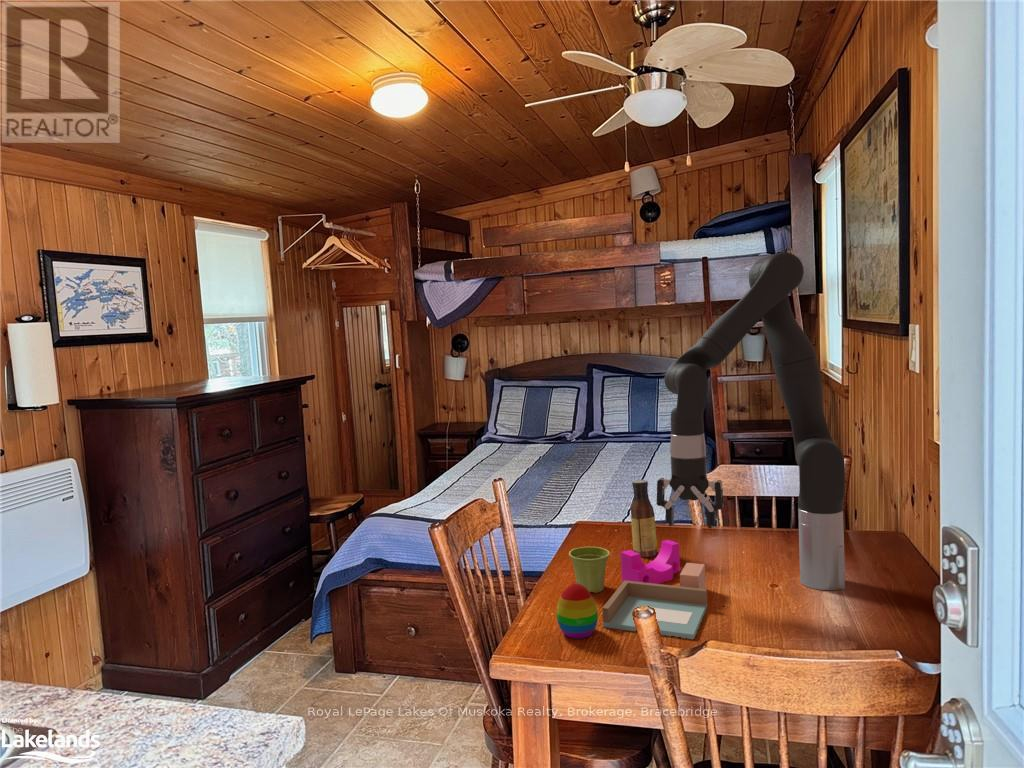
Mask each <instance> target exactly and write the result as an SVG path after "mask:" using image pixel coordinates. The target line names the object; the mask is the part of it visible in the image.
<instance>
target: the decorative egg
mask: <svg viewBox="0 0 1024 768" xmlns="http://www.w3.org/2000/svg"><path fill="white" fill-rule="evenodd" d="M557 601H558V602H557V605H556V606H557V607H556V619H557V625H558V627H559V628H560V630H561V632H562V633H563V635H565V636H566V637H568V638H571V639H578V640H579V639H586V638H587V637H590V636H591V635H592V634H593V633H594V631H595V630H596V627H597V625H598V624H597V623H598V618H599V617H598V616H599V613H598V606H597V603H596V600H595V599H594V597H593V595H592V592H589V591H588V589H587V588H585V587H584V586H583V585H581V584H577V582H576V583H571V584H570V585H568V586H566V588H565V589H564V590H563V591H562V593H561V594H560V596H559V598H558V600H557Z"/></svg>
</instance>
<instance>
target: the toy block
mask: <svg viewBox="0 0 1024 768" xmlns="http://www.w3.org/2000/svg"><path fill="white" fill-rule="evenodd" d="M680 560H681V559H680V543H679V542H676V541H673V540H670V539H665V540H662V541H661V546H660V549H659V552H658V553H657V556H655V558H654V559H653V560H652V561H650V562H649V563H646V564H645V563H644V562H643V560H642V557H641V556H640V554H639V553H636V552H634V550H631V549H628V550H625V551H624V550H623V551H621V552H620V564H621V565H620V566H621V583H623V581H624V580H625V581H634V582H644V583H653V584H662V583H665V582H668V581H671V580H674V574H677V573H681V566H680V563H681V561H680Z"/></svg>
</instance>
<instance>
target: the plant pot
mask: <svg viewBox="0 0 1024 768" xmlns="http://www.w3.org/2000/svg"><path fill="white" fill-rule="evenodd" d="M568 556H569V557H570V559H571V562H572V564H573V570H574V576H575V582H576V583H577V584H581V585H583V586H584V587H585V588H587V589H588V591H589V592H590V593H594V594H595V593H596V594H597V593H600V592H603V590H604V588H605V579H606V571H607V563H608V560H609V556H610V551H609V550H608V549H606V548H603V547H599V546H581V547H576V548H572V549H571V550H570V551H569V552H568Z"/></svg>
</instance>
